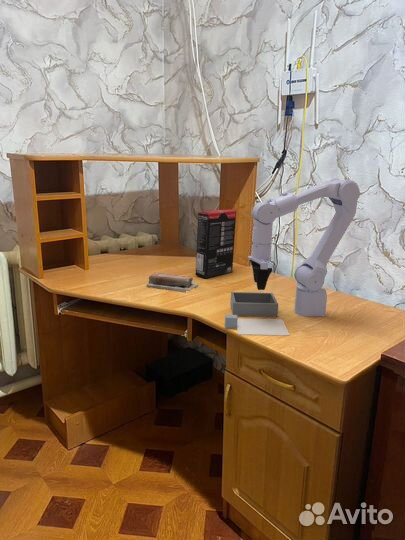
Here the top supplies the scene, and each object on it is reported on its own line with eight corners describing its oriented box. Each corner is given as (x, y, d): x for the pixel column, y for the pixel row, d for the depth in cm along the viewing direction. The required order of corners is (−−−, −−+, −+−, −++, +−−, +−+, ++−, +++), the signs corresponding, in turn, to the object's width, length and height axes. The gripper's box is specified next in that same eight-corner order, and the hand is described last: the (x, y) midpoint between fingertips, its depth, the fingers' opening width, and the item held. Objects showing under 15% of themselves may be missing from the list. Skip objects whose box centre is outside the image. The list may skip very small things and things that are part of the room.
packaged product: (145, 276, 159) (156, 269, 168) (145, 288, 160) (156, 281, 170) (189, 281, 154) (199, 274, 163) (189, 294, 155) (198, 286, 164)
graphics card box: (222, 269, 188) (224, 208, 180) (234, 272, 183) (237, 209, 176) (195, 276, 176) (196, 211, 169) (206, 279, 171) (208, 213, 164)
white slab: (281, 323, 129) (282, 310, 128) (289, 339, 118) (290, 325, 117) (223, 322, 129) (224, 309, 128) (225, 338, 118) (226, 324, 117)
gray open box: (271, 306, 142) (272, 292, 141) (277, 319, 132) (278, 304, 131) (230, 305, 142) (230, 291, 141) (232, 318, 132) (233, 303, 130)
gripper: (246, 237, 134) (244, 278, 137) (251, 247, 120) (249, 292, 123) (268, 238, 134) (265, 279, 138) (276, 248, 120) (273, 293, 124)
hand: (259, 285), depth 131 cm, fingers open, 7 cm apart
